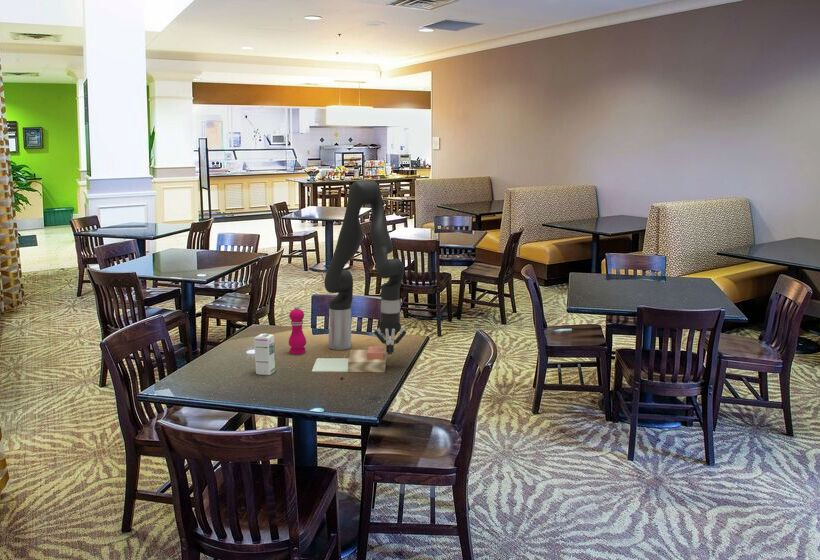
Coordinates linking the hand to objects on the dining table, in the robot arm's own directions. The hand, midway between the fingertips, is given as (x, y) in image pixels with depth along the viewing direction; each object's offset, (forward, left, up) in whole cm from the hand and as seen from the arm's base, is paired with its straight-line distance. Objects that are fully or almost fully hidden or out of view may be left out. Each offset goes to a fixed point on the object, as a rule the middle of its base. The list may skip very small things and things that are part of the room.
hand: (390, 353), depth 268 cm
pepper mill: (-39, +17, -5) cm, 43 cm away
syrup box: (-47, -9, -5) cm, 48 cm away
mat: (-23, 0, -5) cm, 23 cm away
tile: (-6, 0, 0) cm, 6 cm away
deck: (-9, 0, -5) cm, 10 cm away
